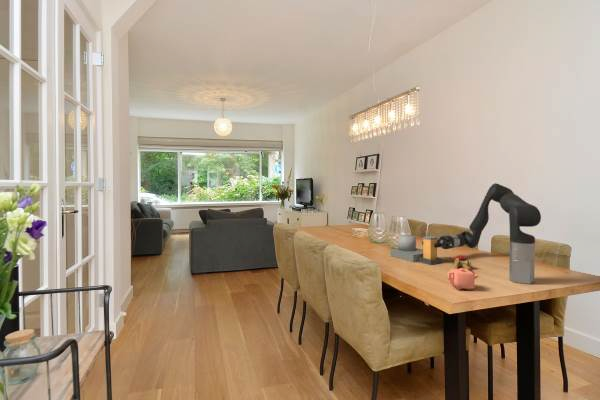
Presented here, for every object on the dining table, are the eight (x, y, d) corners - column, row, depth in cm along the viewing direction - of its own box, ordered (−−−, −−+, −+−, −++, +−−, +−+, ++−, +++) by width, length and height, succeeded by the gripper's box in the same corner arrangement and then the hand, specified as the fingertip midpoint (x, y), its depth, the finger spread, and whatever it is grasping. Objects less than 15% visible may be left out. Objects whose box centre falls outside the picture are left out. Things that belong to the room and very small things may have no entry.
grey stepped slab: (410, 253, 208) (410, 234, 207) (447, 262, 183) (447, 240, 183) (390, 256, 201) (390, 236, 200) (425, 265, 176) (426, 243, 176)
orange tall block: (429, 260, 188) (429, 235, 187) (437, 262, 183) (437, 237, 182) (422, 261, 185) (422, 236, 185) (430, 263, 180) (430, 238, 180)
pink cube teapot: (482, 291, 134) (482, 271, 134) (451, 290, 135) (451, 270, 135) (474, 285, 142) (474, 266, 142) (445, 285, 143) (445, 265, 143)
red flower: (479, 277, 159) (467, 263, 176) (477, 264, 158) (465, 251, 175) (462, 279, 160) (451, 265, 178) (460, 267, 159) (450, 254, 177)
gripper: (439, 233, 196) (418, 235, 189) (460, 237, 184) (439, 239, 176) (439, 246, 197) (418, 249, 189) (460, 250, 184) (439, 253, 177)
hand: (428, 244), depth 183 cm, fingers open, 8 cm apart
